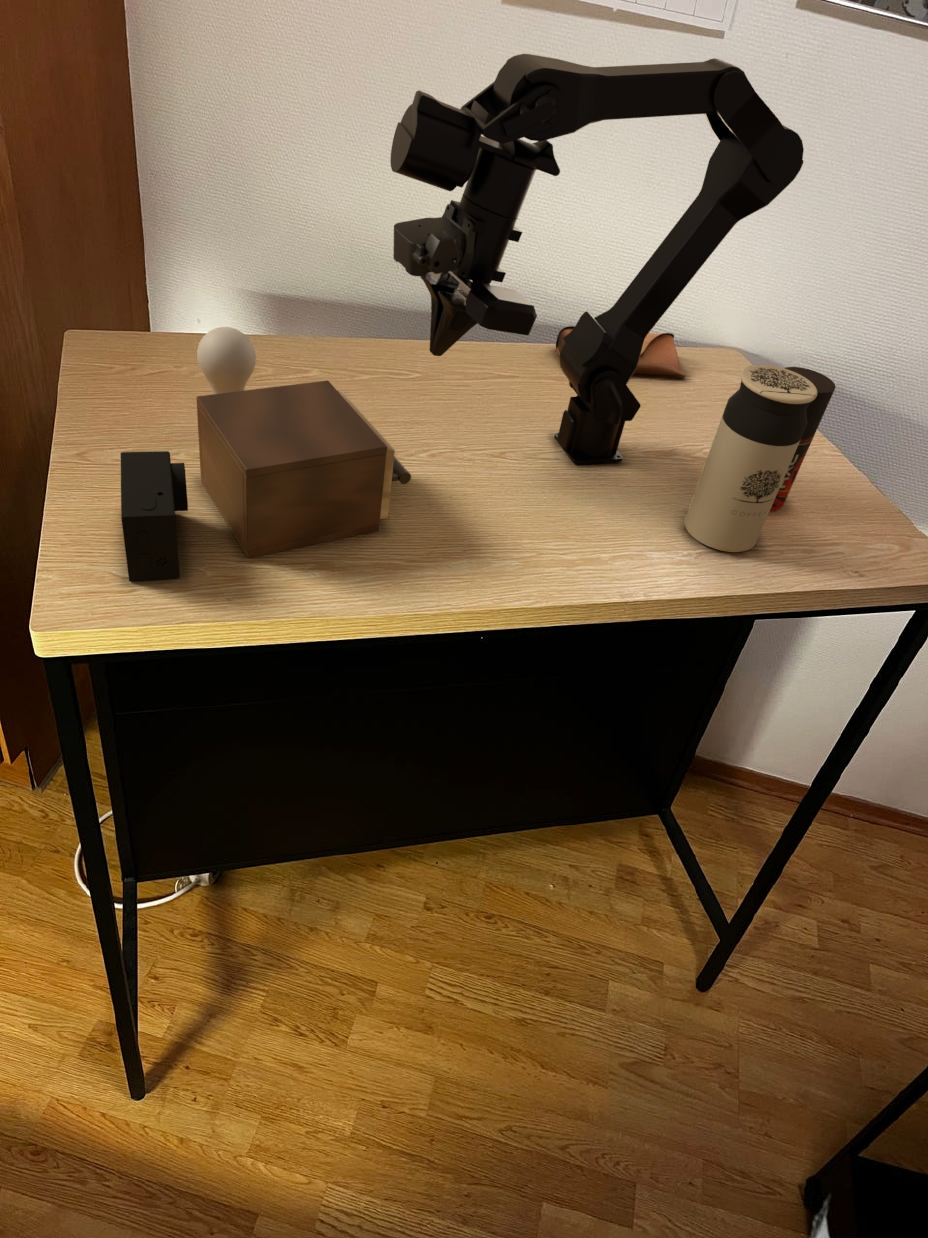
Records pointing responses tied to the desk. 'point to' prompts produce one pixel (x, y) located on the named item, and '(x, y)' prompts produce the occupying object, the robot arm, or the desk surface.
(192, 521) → the desk surface
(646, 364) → the sunglasses case
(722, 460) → the travel mug
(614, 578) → the desk surface
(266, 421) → the cabinet
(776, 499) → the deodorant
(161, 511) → the digital camera
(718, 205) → the robot arm
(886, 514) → the desk surface
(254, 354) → the lightbulb
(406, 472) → the drawer
